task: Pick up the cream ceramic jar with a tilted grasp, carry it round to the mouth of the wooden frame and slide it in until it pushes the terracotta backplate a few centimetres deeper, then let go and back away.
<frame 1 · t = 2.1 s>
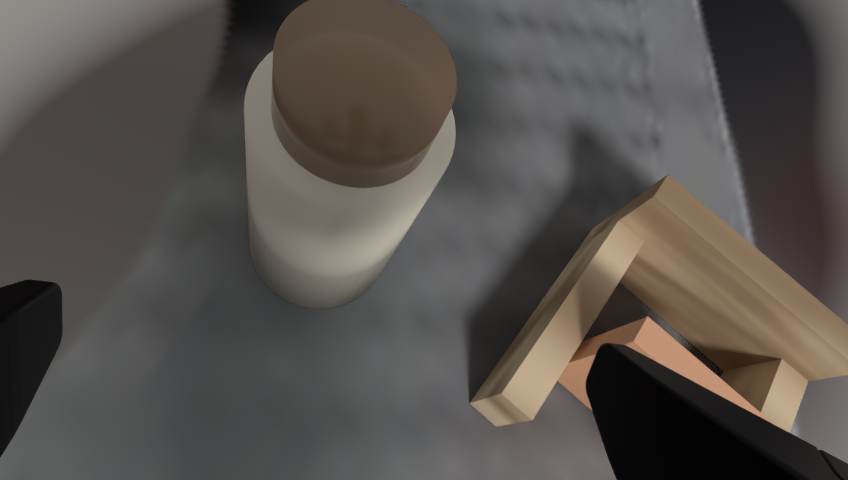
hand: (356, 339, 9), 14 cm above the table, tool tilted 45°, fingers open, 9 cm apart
wooden frame: (618, 396, 26), on the table
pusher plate: (659, 406, 22), point 4 cm above the table, slide at 0.0 cm
jar: (320, 243, 24), on the table
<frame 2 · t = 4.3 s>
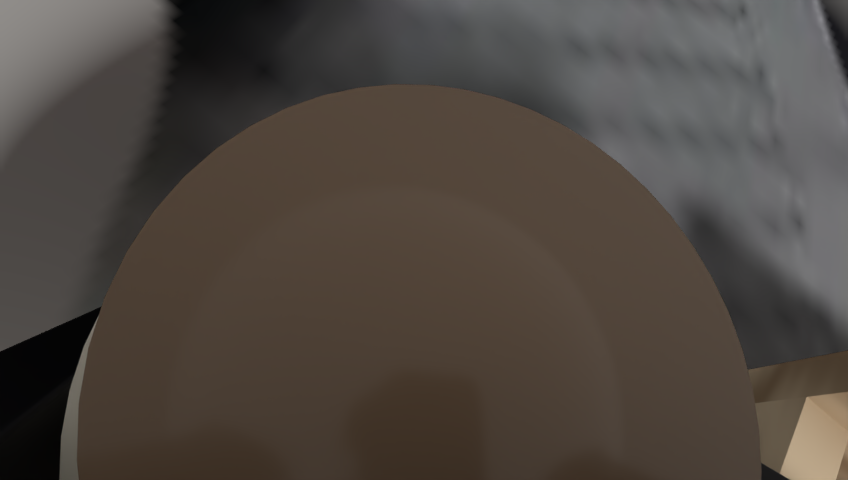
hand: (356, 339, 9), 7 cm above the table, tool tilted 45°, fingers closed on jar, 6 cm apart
jar: (312, 441, 15), on the table, touching gripper
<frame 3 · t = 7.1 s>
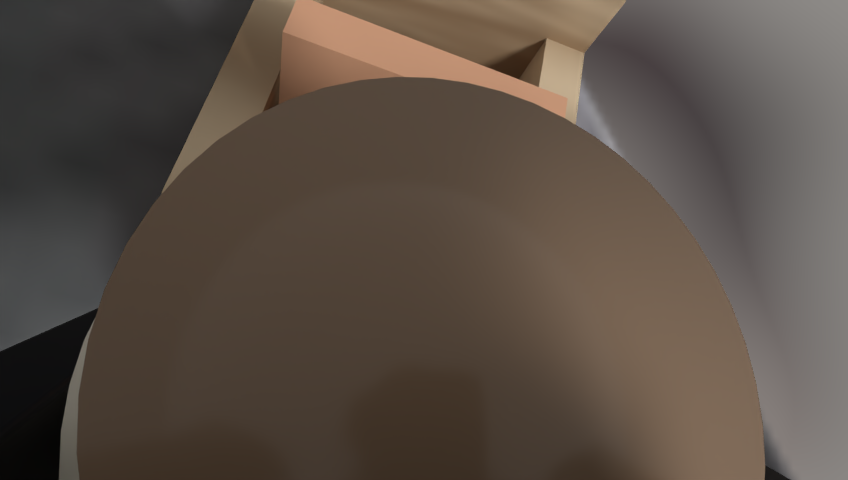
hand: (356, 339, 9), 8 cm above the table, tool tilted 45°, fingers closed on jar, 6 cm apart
wooden frame: (386, 164, 20), on the table
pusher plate: (402, 136, 16), point 4 cm above the table, slide at 0.0 cm
jar: (312, 440, 15), point 2 cm above the table, touching gripper
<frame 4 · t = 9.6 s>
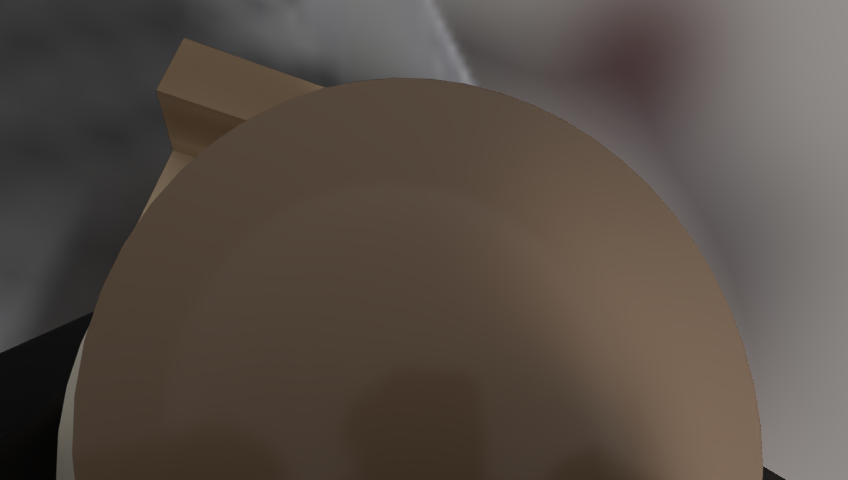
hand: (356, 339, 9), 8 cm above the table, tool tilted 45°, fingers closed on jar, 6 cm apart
wooden frame: (315, 416, 16), on the table
jar: (312, 440, 14), point 1 cm above the table, touching gripper
when the fingers open (8 cm above the table, at t = 9.9 s): jar stays where it is, on the table.
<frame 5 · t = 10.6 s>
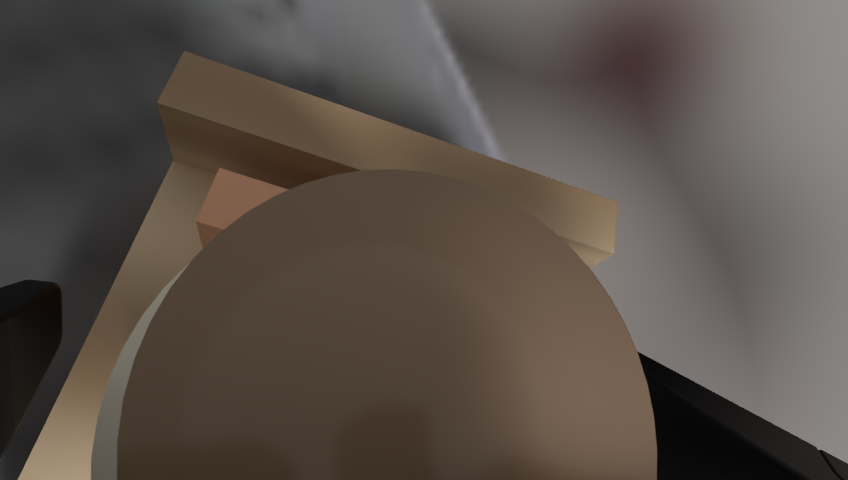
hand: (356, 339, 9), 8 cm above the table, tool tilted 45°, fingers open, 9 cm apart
wooden frame: (314, 424, 16), on the table
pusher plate: (361, 294, 14), point 4 cm above the table, slide at 4.0 cm
jar: (308, 447, 16), on the table
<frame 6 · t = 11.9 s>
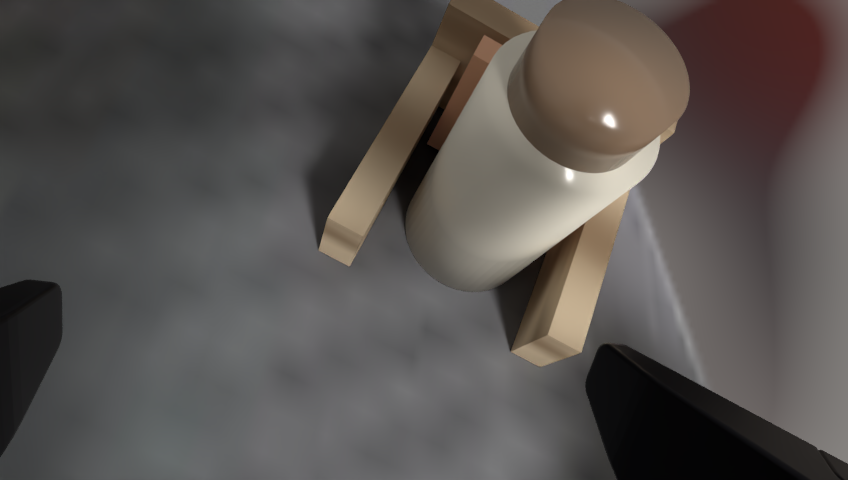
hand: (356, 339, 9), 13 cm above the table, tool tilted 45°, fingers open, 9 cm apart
wooden frame: (471, 219, 26), on the table
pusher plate: (523, 135, 24), point 4 cm above the table, slide at 4.0 cm
jar: (466, 230, 26), on the table
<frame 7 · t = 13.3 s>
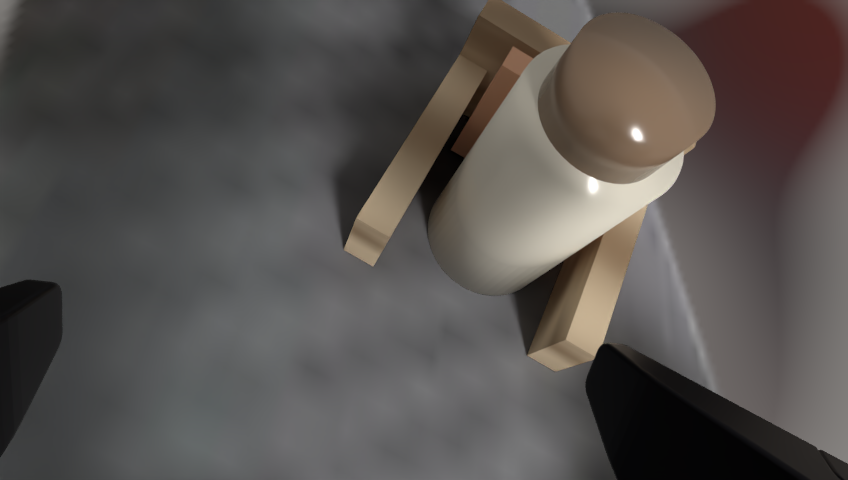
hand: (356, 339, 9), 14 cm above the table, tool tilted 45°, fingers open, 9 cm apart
wooden frame: (492, 225, 27), on the table
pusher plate: (546, 144, 25), point 4 cm above the table, slide at 4.0 cm
jar: (487, 235, 26), on the table
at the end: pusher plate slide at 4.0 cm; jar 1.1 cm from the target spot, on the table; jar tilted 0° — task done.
